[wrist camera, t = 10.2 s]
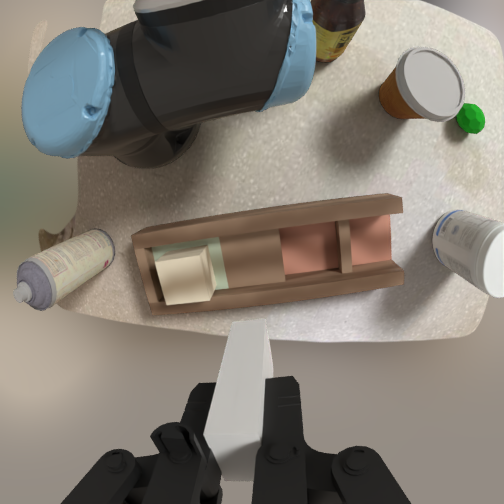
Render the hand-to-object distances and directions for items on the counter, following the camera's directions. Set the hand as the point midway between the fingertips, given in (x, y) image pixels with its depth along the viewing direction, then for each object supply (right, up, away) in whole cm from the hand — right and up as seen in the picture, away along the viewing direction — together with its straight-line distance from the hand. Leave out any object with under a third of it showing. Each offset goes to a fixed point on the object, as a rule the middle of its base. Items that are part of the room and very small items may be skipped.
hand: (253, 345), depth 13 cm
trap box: (+3, +5, +30) cm, 31 cm away
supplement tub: (+33, +7, +28) cm, 43 cm away
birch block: (-8, +2, +29) cm, 30 cm away
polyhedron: (+34, +25, +22) cm, 48 cm away
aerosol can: (-26, +5, +32) cm, 41 cm away
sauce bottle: (+10, +34, +21) cm, 41 cm away
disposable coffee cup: (+21, +27, +23) cm, 41 cm away
